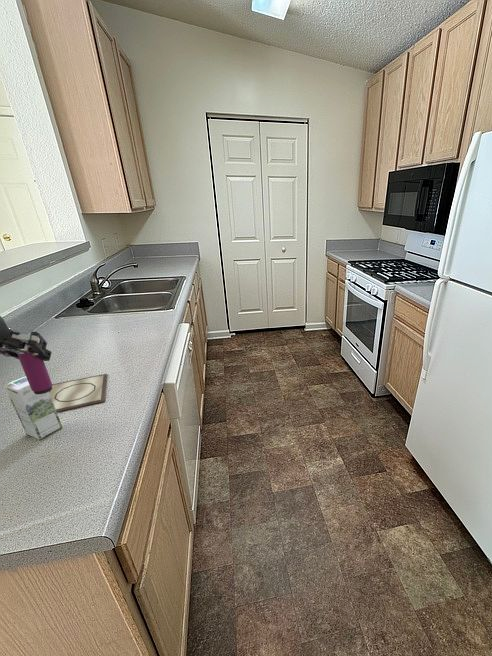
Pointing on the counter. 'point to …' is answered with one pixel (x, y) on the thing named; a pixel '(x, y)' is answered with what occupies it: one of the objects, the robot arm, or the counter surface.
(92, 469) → the counter surface
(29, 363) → the cylinder
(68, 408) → the board
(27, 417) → the syrup box
